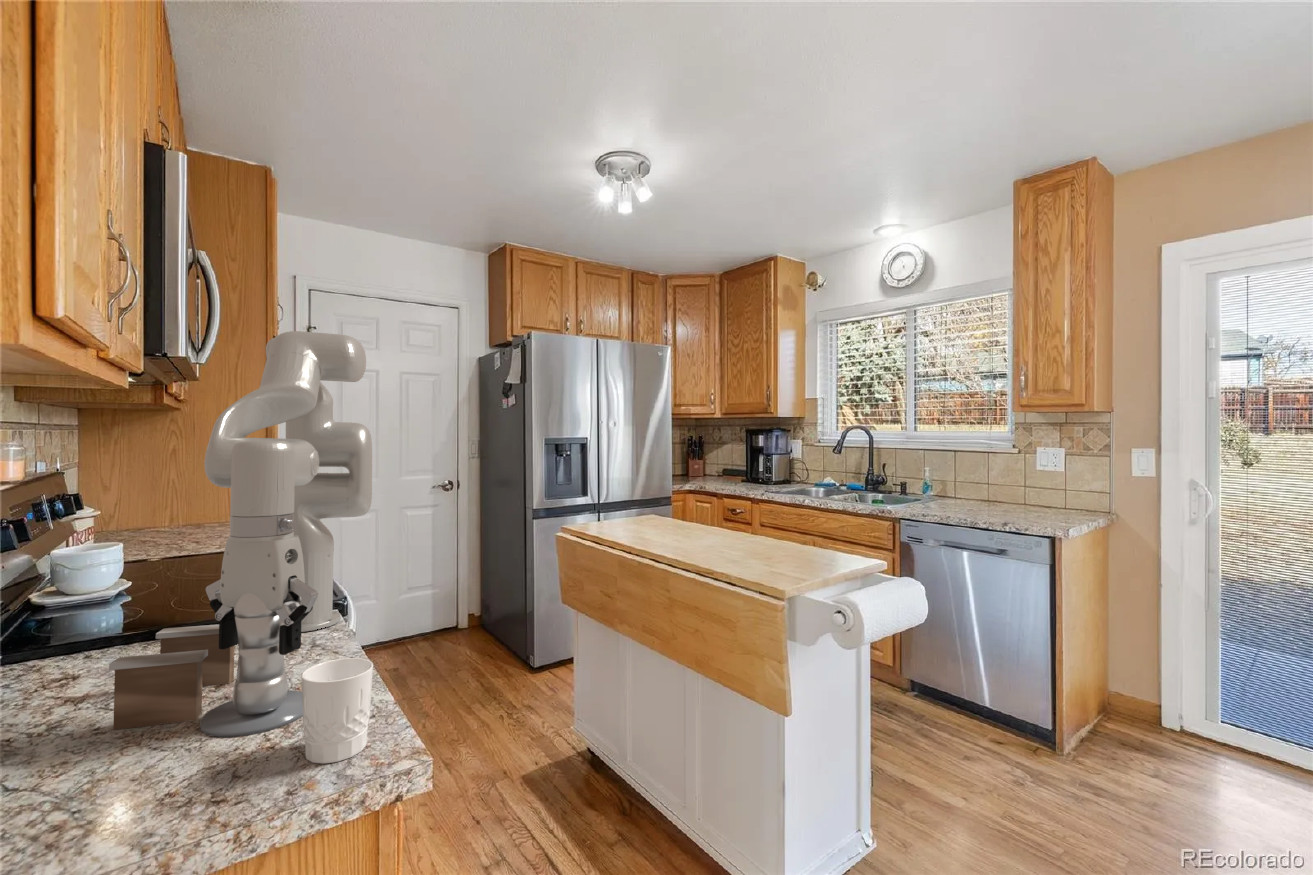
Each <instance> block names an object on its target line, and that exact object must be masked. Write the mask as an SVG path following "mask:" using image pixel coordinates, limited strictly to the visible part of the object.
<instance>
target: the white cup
mask: <svg viewBox="0 0 1313 875" xmlns="http://www.w3.org/2000/svg"><path fill="white" fill-rule="evenodd" d="M373 672H374V662H372V661H371V660H369V659H366V658H361V657H348V658H347V657H345V658H337V659H333V660H326V661H324V662H320V663H316V664H314V665H311V666H310V667H308V668H306V669H305V670H304V671H303V672H301V676H300V677H301V680H300V681H301V692H302V712H303V716H302V726H303V736H304V743H305V745H304V746H305V753H304V754H305V759H306V760H308V762H310V763H313V764H323V765H324V764H330V763H331V764H332V763H338V762H341V761H344V760H347V759H350V758H353V757H355V756H356V755H358V754H359V753H361V752H362V751H363V750H364V749H365V747H366V746H367V744H368V730H369V729H368V728H369V725H368V724H369V721H370V713H371V702H372V690H373V689H372V688H373V687H372V686H373V674H374V673H373Z"/></svg>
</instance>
